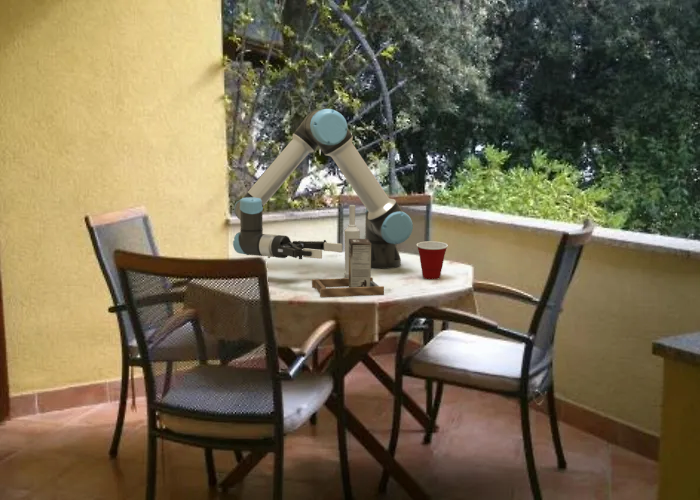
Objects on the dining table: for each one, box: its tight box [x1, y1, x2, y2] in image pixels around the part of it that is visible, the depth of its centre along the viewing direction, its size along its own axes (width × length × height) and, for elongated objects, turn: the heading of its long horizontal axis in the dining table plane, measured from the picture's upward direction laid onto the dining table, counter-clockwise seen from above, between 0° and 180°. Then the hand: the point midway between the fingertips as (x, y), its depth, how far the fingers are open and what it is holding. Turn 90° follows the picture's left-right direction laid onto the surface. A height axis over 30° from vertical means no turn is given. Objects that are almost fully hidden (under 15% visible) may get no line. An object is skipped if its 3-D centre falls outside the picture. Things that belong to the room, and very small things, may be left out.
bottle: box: [343, 204, 361, 278], centre depth 271 cm, size 5×5×25 cm
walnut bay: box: [311, 276, 385, 298], centre depth 252 cm, size 20×15×2 cm
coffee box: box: [348, 238, 372, 287], centre depth 252 cm, size 9×6×16 cm
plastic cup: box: [415, 240, 449, 280], centre depth 273 cm, size 11×11×12 cm
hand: (332, 251), depth 256 cm, fingers open, 13 cm apart
